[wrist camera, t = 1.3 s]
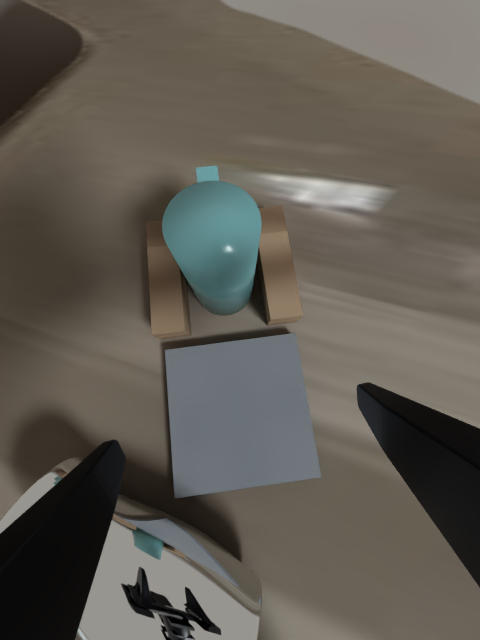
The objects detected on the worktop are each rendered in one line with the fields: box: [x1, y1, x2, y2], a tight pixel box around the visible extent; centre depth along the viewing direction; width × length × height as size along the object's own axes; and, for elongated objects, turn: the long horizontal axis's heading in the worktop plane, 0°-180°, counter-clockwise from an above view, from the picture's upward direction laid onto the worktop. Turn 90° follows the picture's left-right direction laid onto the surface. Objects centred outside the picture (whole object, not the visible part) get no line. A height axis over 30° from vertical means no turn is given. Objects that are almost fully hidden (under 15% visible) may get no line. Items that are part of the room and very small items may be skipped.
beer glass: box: [0, 457, 262, 640], centre depth 15 cm, size 7×7×15 cm
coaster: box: [165, 333, 321, 498], centre depth 20 cm, size 11×11×1 cm
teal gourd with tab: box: [162, 166, 262, 315], centre depth 18 cm, size 8×5×10 cm, turn 7°
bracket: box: [146, 206, 303, 339], centre depth 21 cm, size 10×12×2 cm
